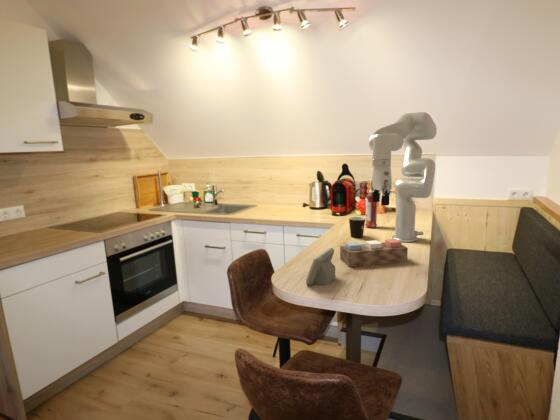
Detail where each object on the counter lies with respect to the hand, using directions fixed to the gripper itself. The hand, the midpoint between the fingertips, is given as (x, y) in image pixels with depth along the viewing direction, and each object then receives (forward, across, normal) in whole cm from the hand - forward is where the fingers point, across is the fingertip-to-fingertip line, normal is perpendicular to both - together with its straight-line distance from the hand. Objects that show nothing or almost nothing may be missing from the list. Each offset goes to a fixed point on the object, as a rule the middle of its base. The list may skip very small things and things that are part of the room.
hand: (380, 203), depth 155 cm
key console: (+24, -5, +5) cm, 25 cm away
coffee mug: (+24, +36, -4) cm, 43 cm away
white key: (+20, -5, +5) cm, 21 cm away
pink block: (+20, -4, -4) cm, 21 cm away
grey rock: (+24, -22, +32) cm, 46 cm away
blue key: (+20, -5, +14) cm, 25 cm away
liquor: (+24, +54, -18) cm, 62 cm away
